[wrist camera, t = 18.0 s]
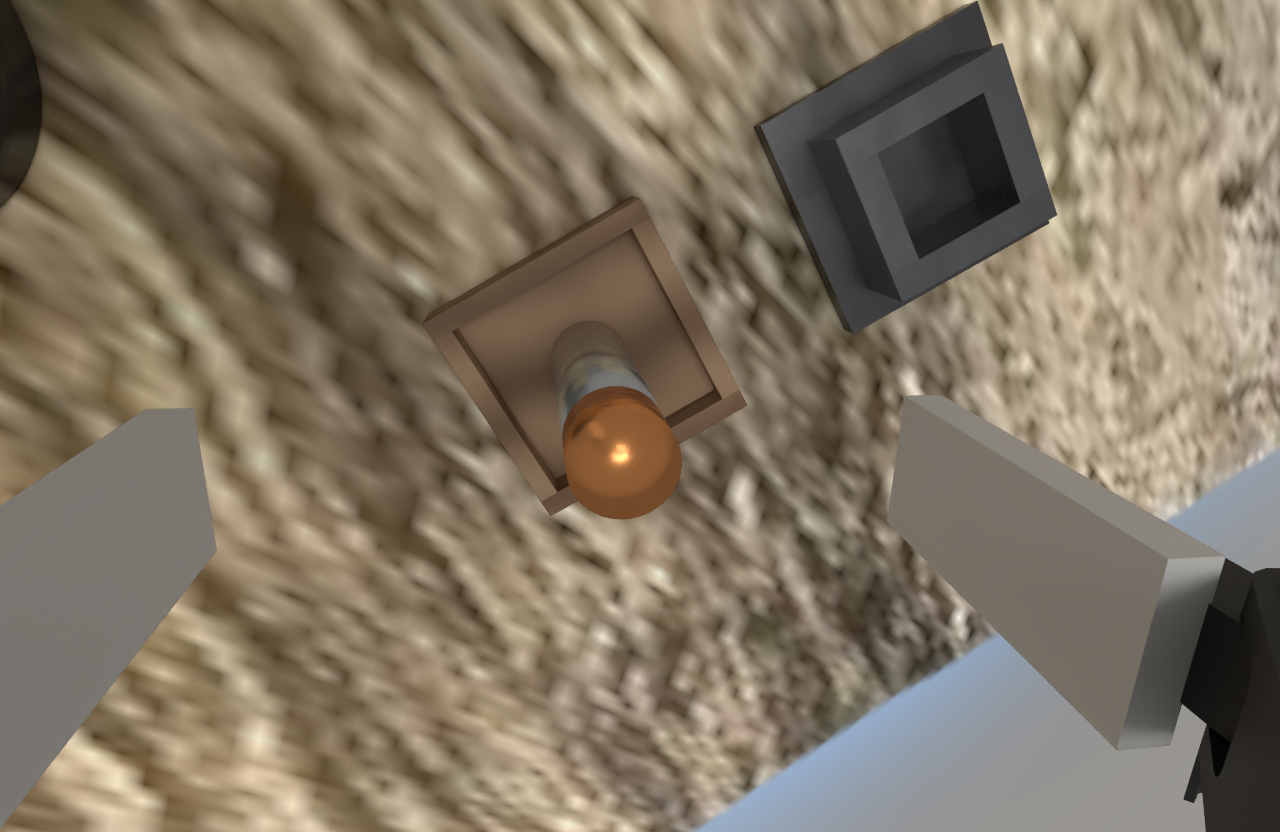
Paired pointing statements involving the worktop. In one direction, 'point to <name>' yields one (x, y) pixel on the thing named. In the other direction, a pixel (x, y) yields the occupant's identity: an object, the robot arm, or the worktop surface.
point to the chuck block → (910, 167)
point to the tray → (568, 294)
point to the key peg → (611, 425)
